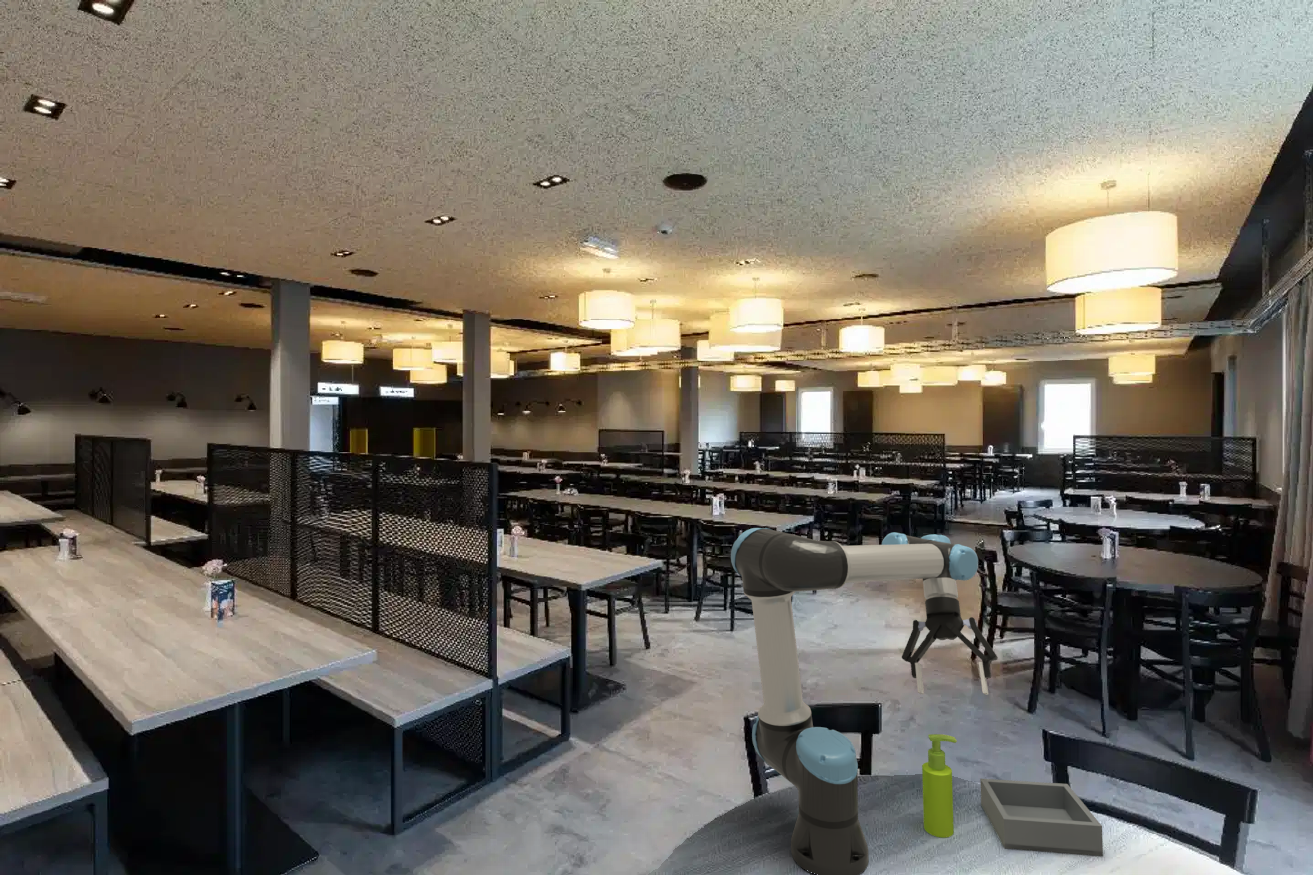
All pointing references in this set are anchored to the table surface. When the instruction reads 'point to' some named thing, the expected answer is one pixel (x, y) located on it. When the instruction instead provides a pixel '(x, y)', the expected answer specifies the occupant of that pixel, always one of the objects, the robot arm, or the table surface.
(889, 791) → the table surface
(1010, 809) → the crate
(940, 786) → the soap dispenser
